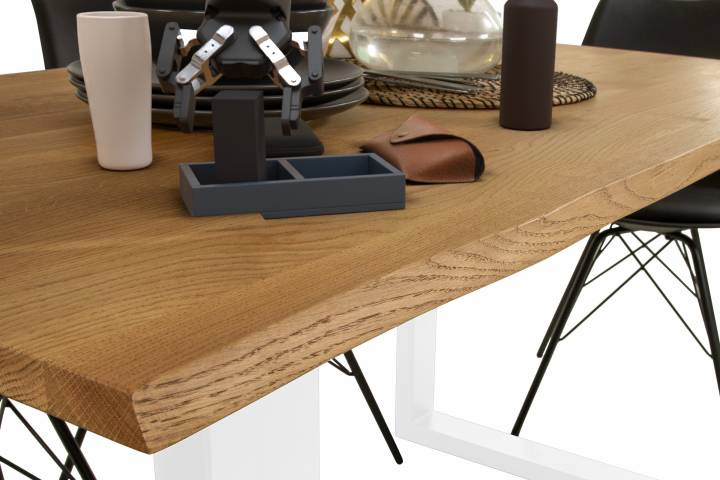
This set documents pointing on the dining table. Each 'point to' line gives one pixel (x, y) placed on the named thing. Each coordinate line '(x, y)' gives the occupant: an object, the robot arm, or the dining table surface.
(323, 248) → the dining table surface
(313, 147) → the carrying case
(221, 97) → the black rectangular block
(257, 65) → the robot arm
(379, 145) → the sunglasses case
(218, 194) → the tray
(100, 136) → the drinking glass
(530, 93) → the bottle
